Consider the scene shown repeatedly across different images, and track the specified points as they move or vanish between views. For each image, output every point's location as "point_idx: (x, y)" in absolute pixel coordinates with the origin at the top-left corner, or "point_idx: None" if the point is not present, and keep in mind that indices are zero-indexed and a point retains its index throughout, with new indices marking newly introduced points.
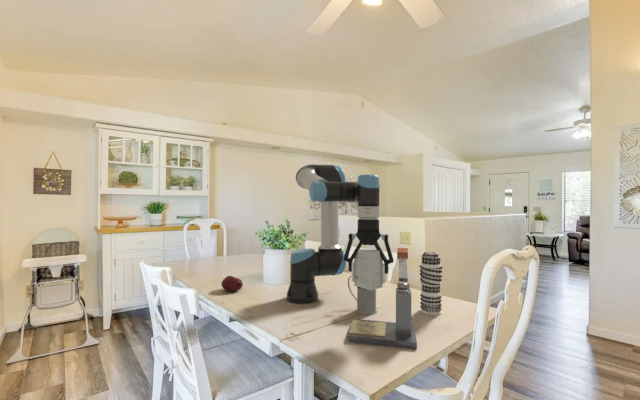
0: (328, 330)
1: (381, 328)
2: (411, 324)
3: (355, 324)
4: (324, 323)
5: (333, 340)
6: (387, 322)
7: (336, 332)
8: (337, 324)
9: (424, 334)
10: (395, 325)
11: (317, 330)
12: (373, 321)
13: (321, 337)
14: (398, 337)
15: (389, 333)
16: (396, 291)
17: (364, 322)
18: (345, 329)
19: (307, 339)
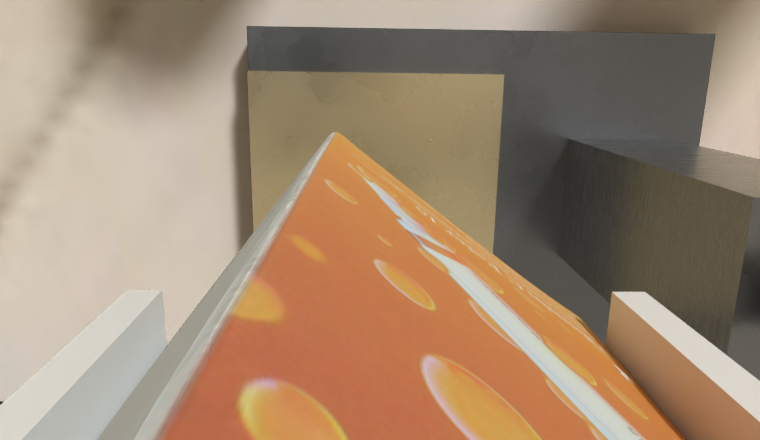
0: (103, 187)
1: (469, 197)
2: (694, 44)
3: (279, 166)
4: (33, 64)
5: (178, 325)
6: (515, 45)
7: (165, 207)
8: (134, 61)
9: (745, 106)
10: (571, 93)
11: (31, 204)
12: (406, 47)
13: (95, 302)
14: (571, 296)
15: (519, 248)
16: (735, 351)
17: (341, 109)
18: (213, 143)
19: (23, 347)
